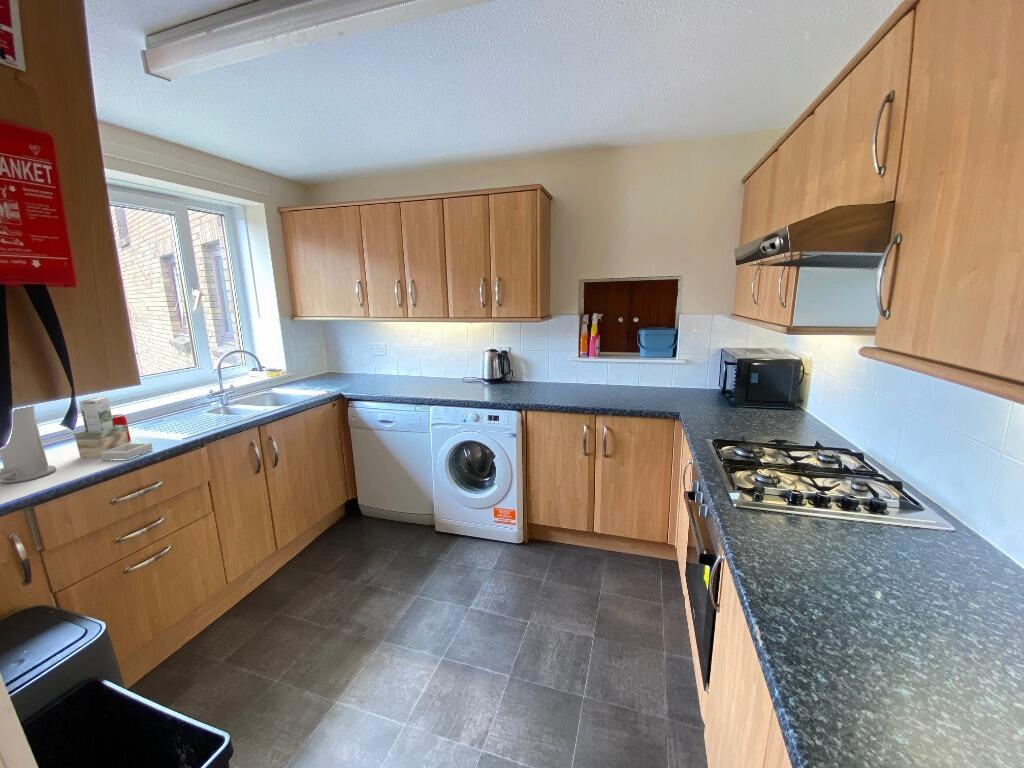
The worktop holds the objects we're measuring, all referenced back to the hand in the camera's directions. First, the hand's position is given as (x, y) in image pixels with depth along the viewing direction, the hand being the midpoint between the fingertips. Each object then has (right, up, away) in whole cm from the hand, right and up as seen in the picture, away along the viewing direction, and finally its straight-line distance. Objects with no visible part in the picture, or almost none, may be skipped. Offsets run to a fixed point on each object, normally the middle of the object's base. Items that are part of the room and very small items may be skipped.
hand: (87, 381), depth 158 cm
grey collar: (+14, -28, +1) cm, 31 cm away
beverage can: (-2, -26, +16) cm, 31 cm away
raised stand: (+1, -28, +6) cm, 28 cm away
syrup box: (+1, -21, +4) cm, 22 cm away
